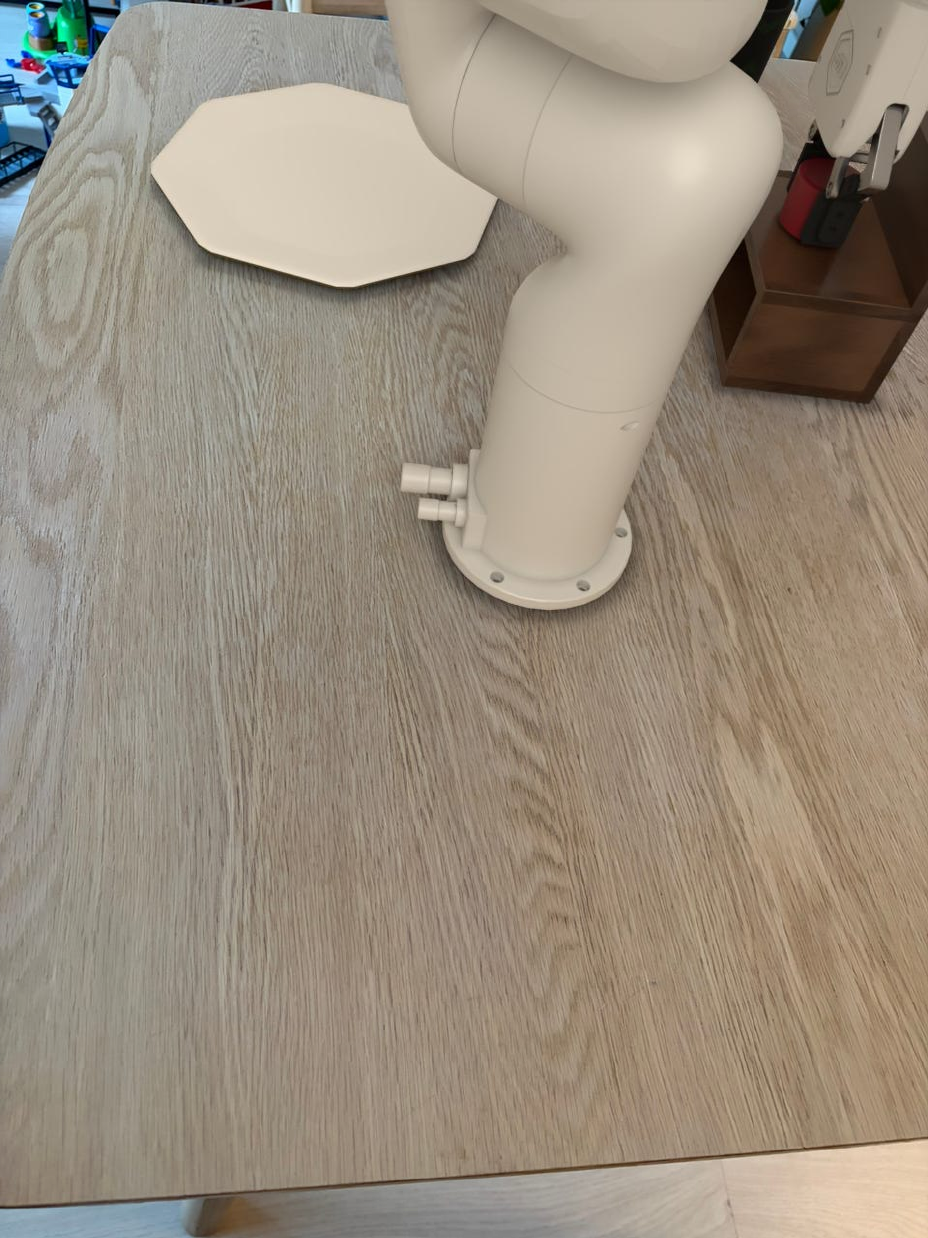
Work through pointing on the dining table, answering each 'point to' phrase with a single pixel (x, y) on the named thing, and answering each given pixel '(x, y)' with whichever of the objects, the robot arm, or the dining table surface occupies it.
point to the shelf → (827, 293)
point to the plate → (319, 187)
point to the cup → (763, 39)
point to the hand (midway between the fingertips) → (813, 217)
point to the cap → (806, 192)
